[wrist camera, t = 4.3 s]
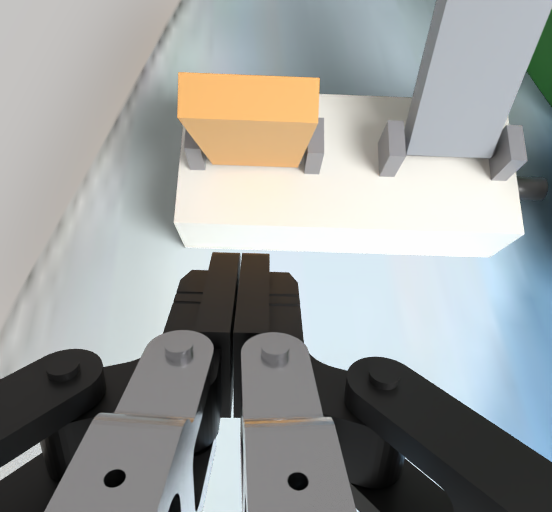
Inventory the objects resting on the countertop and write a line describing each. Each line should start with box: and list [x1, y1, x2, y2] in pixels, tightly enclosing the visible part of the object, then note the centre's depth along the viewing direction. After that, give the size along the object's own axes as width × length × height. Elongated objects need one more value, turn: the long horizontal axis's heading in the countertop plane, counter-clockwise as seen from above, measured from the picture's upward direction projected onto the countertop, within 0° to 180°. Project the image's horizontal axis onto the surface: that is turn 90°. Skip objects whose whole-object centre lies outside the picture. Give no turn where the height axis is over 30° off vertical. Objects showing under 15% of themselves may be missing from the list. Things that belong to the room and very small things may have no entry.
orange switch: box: [177, 72, 320, 168], centre depth 20 cm, size 5×1×10 cm, turn 89°
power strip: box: [174, 94, 548, 257], centre depth 27 cm, size 21×8×6 cm, turn 89°
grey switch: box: [404, 0, 552, 159], centre depth 22 cm, size 5×1×10 cm, turn 89°
